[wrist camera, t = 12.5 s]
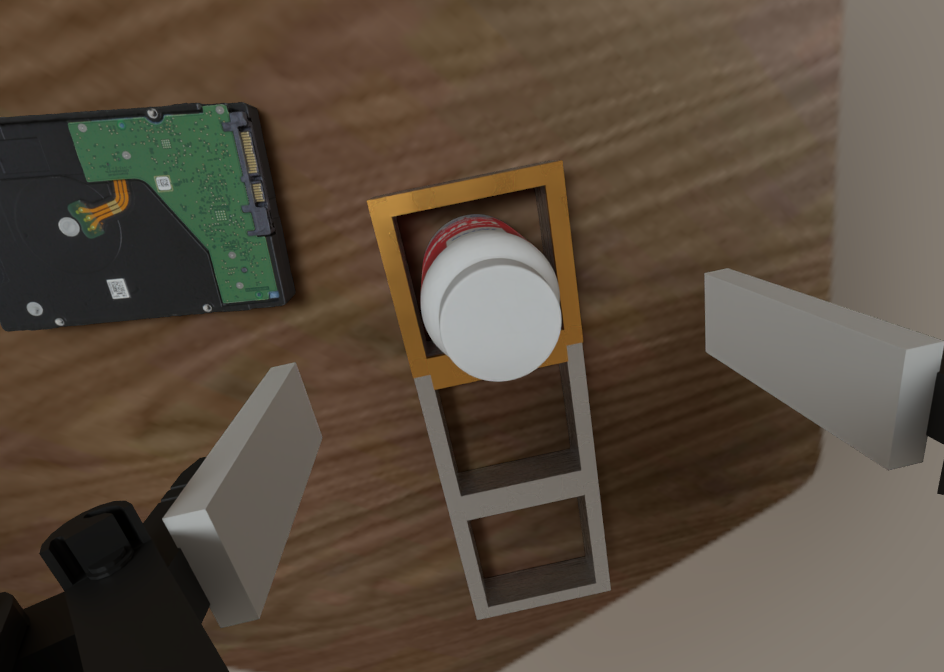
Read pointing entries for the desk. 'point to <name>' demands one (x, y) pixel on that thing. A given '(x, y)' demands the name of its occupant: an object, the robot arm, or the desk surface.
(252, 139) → the disk drive
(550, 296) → the pill bottle
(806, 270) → the desk surface
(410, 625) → the desk surface
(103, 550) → the robot arm
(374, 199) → the socket rail
